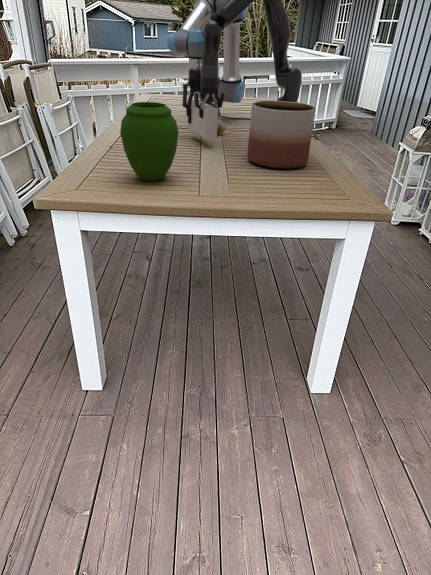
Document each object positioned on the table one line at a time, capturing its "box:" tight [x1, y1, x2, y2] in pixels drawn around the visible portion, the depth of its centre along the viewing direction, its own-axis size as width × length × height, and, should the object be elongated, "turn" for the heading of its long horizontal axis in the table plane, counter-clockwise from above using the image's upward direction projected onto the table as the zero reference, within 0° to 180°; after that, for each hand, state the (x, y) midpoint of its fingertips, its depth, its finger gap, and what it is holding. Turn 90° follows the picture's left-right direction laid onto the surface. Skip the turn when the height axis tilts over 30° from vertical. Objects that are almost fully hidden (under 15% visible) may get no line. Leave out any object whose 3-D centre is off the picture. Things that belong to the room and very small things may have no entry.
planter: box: [246, 100, 317, 170], centre depth 167 cm, size 25×25×22 cm
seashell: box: [217, 118, 227, 135], centre depth 211 cm, size 10×6×8 cm, turn 97°
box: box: [186, 99, 218, 140], centre depth 191 cm, size 24×6×13 cm, turn 22°
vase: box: [119, 101, 179, 182], centre depth 140 cm, size 20×20×24 cm
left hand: (195, 122), depth 199 cm, fingers closed on box, 6 cm apart
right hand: (208, 117), depth 184 cm, fingers closed on box, 5 cm apart
